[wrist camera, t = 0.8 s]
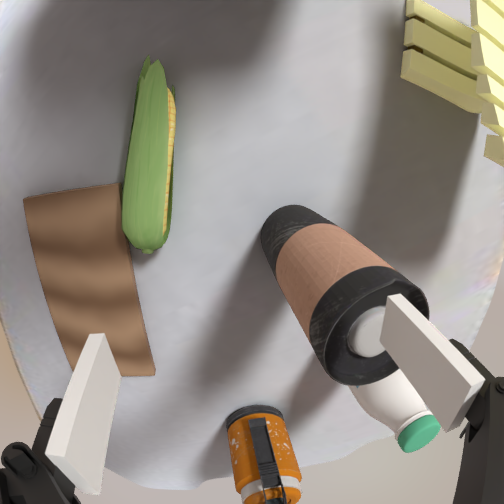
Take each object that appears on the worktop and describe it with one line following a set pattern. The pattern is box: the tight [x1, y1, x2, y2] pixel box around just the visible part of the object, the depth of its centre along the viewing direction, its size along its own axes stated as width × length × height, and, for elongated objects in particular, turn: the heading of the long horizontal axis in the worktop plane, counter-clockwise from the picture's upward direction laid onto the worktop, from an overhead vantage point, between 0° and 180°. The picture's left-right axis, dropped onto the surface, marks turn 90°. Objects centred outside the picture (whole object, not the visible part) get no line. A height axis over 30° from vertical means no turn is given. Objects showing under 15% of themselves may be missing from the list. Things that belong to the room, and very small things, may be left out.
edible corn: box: [121, 55, 176, 254], centre depth 28 cm, size 5×20×5 cm
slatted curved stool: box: [400, 0, 504, 167], centre depth 22 cm, size 30×16×18 cm, turn 170°
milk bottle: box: [348, 369, 440, 453], centre depth 33 cm, size 8×8×20 cm
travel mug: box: [261, 205, 429, 386], centre depth 26 cm, size 8×8×20 cm
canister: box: [227, 405, 302, 504], centre depth 36 cm, size 9×11×20 cm
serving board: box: [23, 183, 156, 376], centre depth 34 cm, size 24×12×1 cm, turn 2°
